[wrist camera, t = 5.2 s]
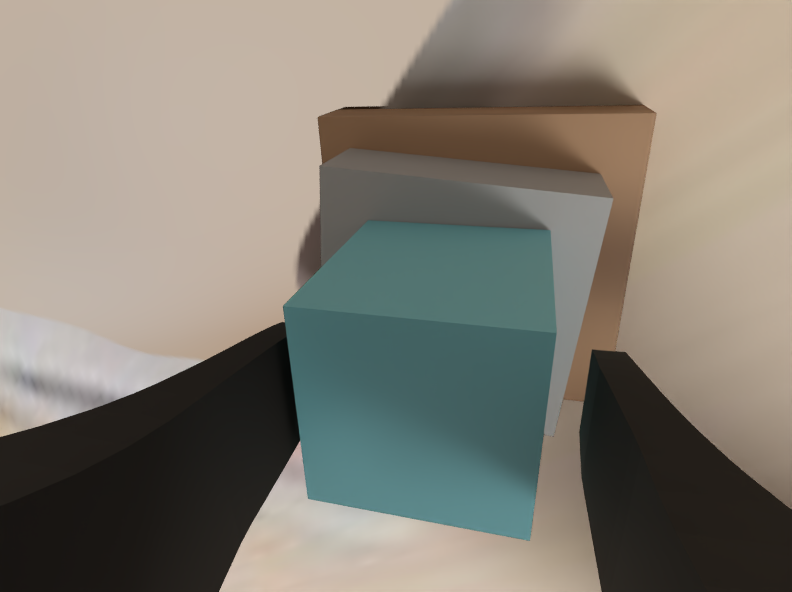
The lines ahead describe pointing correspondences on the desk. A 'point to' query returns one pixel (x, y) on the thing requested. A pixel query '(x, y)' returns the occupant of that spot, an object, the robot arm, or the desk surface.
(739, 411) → the desk surface
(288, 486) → the desk surface
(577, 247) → the gray slab
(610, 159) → the walnut slab
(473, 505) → the teal block
